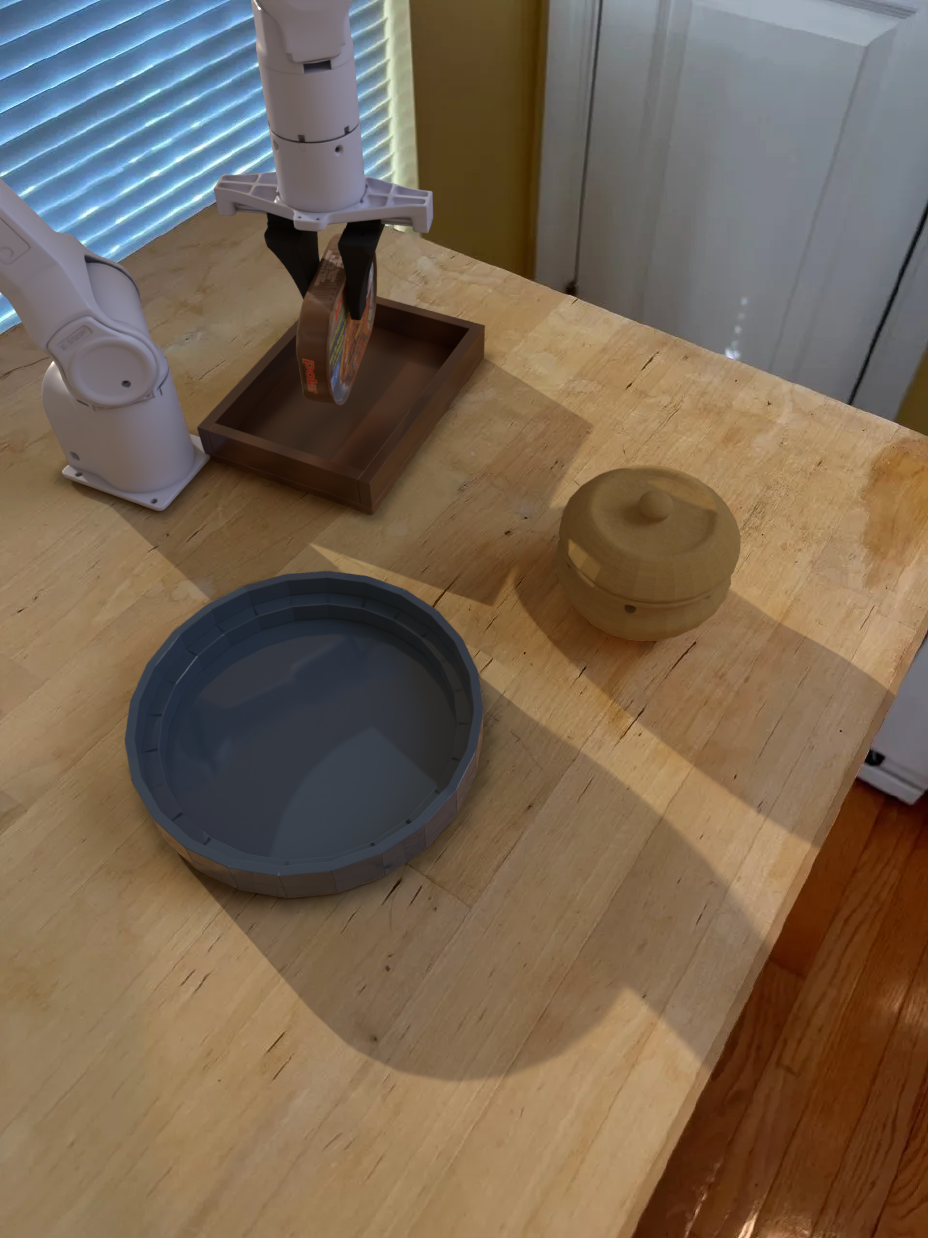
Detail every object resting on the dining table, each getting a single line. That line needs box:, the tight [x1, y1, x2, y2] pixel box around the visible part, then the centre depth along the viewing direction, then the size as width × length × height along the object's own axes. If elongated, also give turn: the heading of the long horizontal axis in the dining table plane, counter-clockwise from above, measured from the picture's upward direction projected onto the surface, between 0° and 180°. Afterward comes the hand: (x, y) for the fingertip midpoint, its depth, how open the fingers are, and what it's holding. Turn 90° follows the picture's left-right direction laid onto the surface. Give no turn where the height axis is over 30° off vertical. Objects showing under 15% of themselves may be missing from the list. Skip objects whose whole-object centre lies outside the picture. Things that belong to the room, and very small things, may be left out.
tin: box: [296, 233, 378, 406], centre depth 70 cm, size 15×3×8 cm, turn 171°
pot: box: [554, 464, 742, 642], centre depth 62 cm, size 12×12×10 cm
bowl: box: [124, 570, 484, 899], centre depth 58 cm, size 21×21×4 cm
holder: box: [196, 295, 486, 515], centre depth 77 cm, size 15×21×3 cm
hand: (337, 310), depth 70 cm, fingers closed on tin, 2 cm apart
